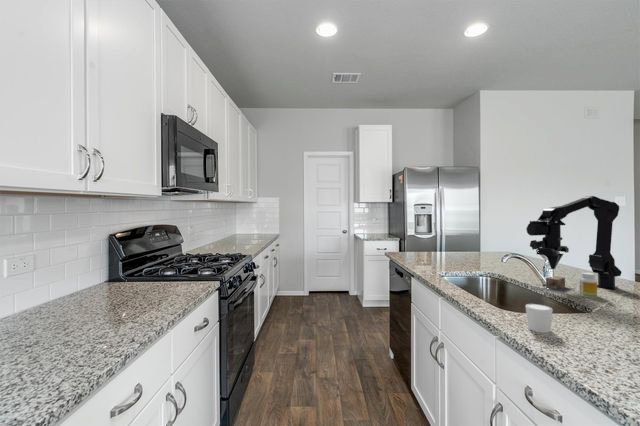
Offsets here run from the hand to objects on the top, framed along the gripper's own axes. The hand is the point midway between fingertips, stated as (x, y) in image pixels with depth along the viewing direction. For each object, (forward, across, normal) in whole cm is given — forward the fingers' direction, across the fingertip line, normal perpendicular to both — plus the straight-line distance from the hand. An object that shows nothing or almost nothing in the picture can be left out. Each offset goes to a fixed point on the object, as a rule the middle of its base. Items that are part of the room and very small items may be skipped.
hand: (553, 268), depth 136 cm
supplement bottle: (+10, +2, +13) cm, 16 cm away
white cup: (+10, +57, +16) cm, 60 cm away
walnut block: (+7, +2, 0) cm, 7 cm away
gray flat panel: (+9, +1, 0) cm, 9 cm away
